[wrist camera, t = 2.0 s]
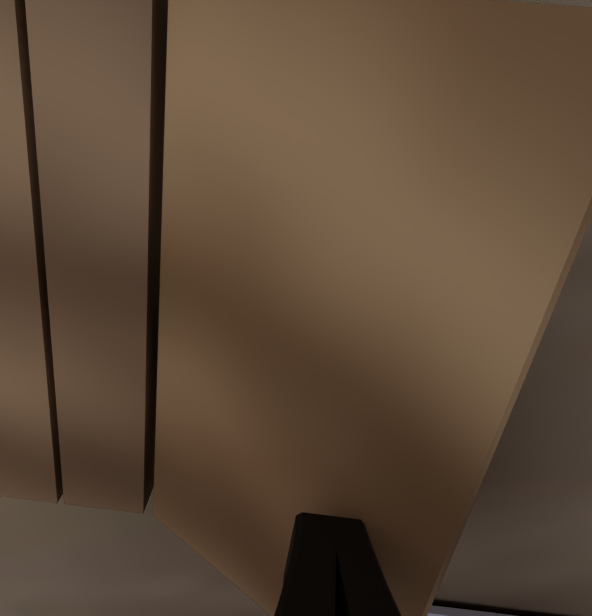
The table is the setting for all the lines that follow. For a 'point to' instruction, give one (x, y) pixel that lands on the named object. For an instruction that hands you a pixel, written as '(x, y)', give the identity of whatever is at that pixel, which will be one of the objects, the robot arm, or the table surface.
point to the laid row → (80, 248)
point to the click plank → (357, 265)
